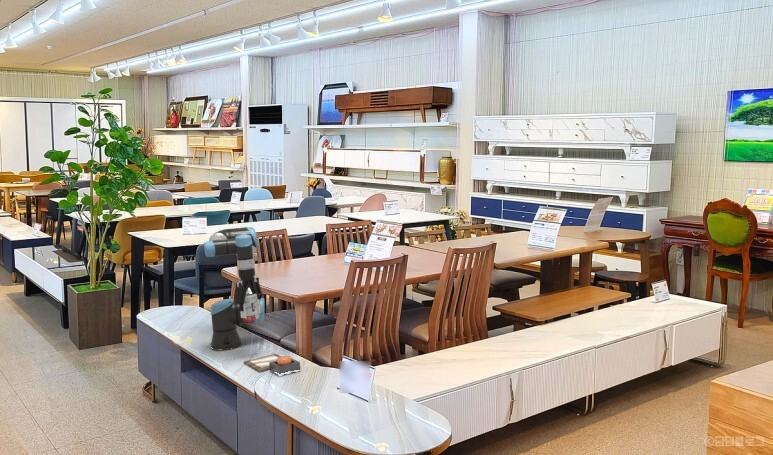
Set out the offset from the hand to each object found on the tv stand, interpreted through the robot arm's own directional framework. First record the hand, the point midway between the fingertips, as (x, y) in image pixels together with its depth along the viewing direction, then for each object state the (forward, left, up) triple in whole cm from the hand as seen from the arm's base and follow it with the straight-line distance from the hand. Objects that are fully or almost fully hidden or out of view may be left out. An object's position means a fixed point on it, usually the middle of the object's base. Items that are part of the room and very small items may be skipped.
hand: (250, 315), depth 321 cm
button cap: (+14, +29, -18) cm, 37 cm away
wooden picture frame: (+8, +14, -20) cm, 25 cm away
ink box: (0, 0, -2) cm, 2 cm away
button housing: (+14, +29, -20) cm, 38 cm away
